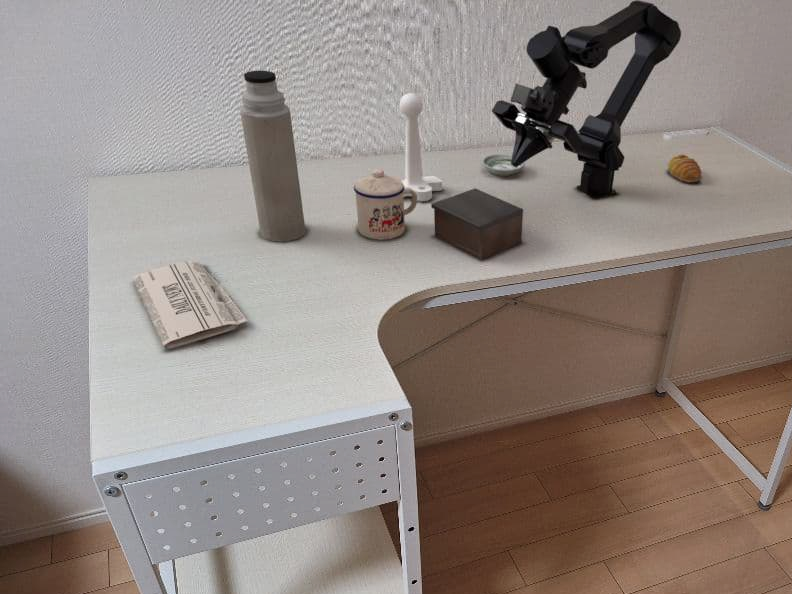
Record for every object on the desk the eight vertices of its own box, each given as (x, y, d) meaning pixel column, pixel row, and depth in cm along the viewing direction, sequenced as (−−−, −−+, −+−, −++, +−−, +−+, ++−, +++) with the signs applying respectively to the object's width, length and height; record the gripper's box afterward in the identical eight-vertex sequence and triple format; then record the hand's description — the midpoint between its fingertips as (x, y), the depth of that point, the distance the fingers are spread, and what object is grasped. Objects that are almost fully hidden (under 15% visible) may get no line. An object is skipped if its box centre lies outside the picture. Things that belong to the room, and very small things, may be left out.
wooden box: (481, 260, 138) (482, 229, 135) (434, 236, 145) (434, 206, 141) (521, 243, 145) (523, 213, 141) (474, 221, 151) (475, 192, 148)
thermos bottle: (277, 219, 146) (253, 63, 129) (313, 228, 144) (294, 71, 127) (251, 236, 140) (223, 75, 123) (289, 245, 138) (266, 83, 121)
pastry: (707, 183, 175) (710, 167, 173) (681, 185, 173) (684, 169, 171) (689, 168, 182) (692, 152, 180) (663, 170, 180) (666, 154, 178)
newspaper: (251, 329, 116) (247, 316, 114) (168, 357, 111) (162, 343, 109) (211, 264, 130) (206, 251, 129) (135, 286, 125) (130, 273, 124)
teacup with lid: (369, 244, 140) (364, 183, 133) (349, 225, 146) (344, 165, 139) (428, 232, 146) (426, 173, 139) (407, 214, 152) (405, 156, 145)
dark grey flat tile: (479, 230, 134) (479, 226, 134) (431, 207, 141) (431, 203, 140) (523, 213, 141) (523, 209, 141) (475, 192, 148) (475, 188, 147)
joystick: (432, 184, 164) (430, 87, 152) (450, 196, 160) (449, 97, 148) (385, 193, 159) (379, 93, 147) (402, 207, 154) (398, 105, 142)
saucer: (472, 172, 171) (472, 162, 170) (497, 160, 178) (497, 150, 176) (508, 183, 167) (509, 173, 166) (532, 171, 174) (533, 160, 173)
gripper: (499, 54, 140) (456, 127, 140) (578, 78, 131) (531, 156, 131) (526, 91, 150) (485, 159, 150) (601, 116, 141) (557, 189, 141)
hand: (513, 165), depth 143 cm, fingers closed
